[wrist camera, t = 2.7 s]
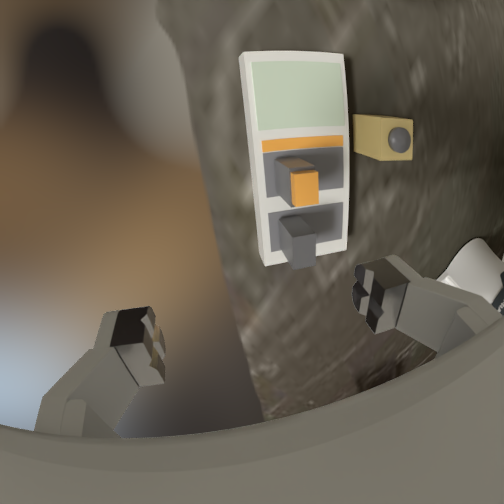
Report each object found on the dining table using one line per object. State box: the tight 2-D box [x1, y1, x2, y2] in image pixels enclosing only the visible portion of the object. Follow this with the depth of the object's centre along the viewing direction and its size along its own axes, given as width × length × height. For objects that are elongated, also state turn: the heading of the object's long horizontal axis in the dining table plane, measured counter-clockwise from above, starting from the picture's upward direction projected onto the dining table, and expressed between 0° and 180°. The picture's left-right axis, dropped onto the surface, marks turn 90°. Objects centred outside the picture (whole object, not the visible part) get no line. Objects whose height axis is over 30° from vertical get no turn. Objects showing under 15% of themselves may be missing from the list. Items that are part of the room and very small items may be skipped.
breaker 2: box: [278, 216, 316, 270], centre depth 25 cm, size 3×2×4 cm, turn 6°
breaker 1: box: [274, 157, 319, 208], centre depth 22 cm, size 3×2×5 cm, turn 6°
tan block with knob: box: [353, 114, 413, 161], centre depth 24 cm, size 4×4×6 cm
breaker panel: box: [239, 51, 349, 266], centre depth 25 cm, size 20×9×3 cm, turn 6°
